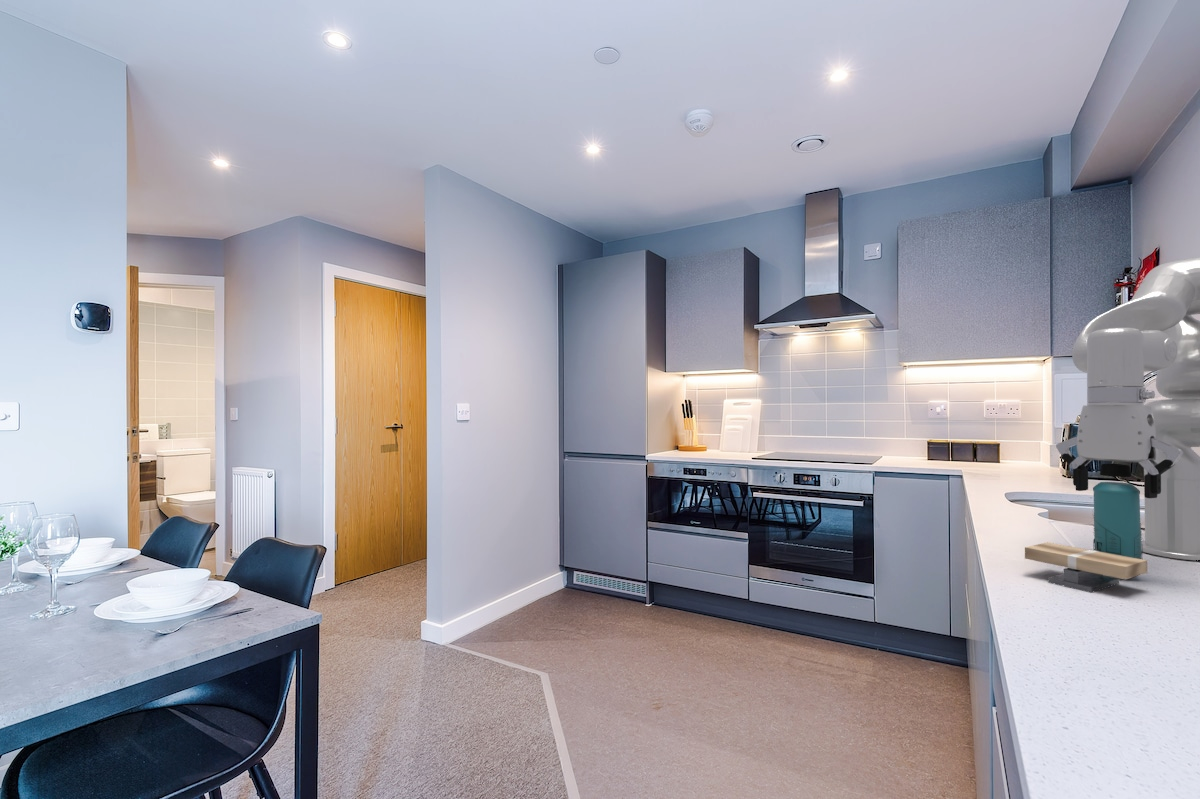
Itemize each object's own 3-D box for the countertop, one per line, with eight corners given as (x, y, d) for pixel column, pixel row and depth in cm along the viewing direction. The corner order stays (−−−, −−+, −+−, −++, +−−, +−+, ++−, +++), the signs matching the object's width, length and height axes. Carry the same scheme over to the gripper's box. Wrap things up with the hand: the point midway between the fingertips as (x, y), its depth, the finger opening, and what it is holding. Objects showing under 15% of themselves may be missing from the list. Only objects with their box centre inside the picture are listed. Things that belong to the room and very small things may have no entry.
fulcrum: (1076, 574, 102) (1076, 559, 102) (1119, 583, 97) (1119, 567, 97) (1048, 582, 97) (1048, 566, 97) (1091, 592, 92) (1091, 575, 92)
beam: (1047, 553, 105) (1047, 542, 105) (1147, 572, 93) (1147, 560, 93) (1024, 558, 101) (1024, 547, 101) (1125, 579, 89) (1125, 566, 89)
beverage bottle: (1154, 581, 98) (1152, 465, 98) (1114, 581, 98) (1113, 465, 98) (1120, 570, 104) (1118, 462, 104) (1083, 570, 104) (1081, 462, 104)
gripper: (1190, 397, 95) (1190, 499, 95) (1067, 399, 111) (1067, 487, 110) (1172, 396, 92) (1172, 502, 91) (1047, 398, 107) (1047, 488, 107)
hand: (1115, 493), depth 101 cm, fingers open, 9 cm apart
